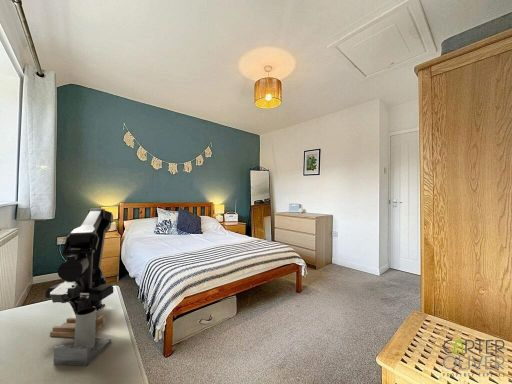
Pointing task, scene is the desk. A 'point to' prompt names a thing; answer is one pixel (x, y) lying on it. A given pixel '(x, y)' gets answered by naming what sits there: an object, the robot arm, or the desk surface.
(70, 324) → the brown wooden tray
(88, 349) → the press bed
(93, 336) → the planter
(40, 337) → the desk surface
